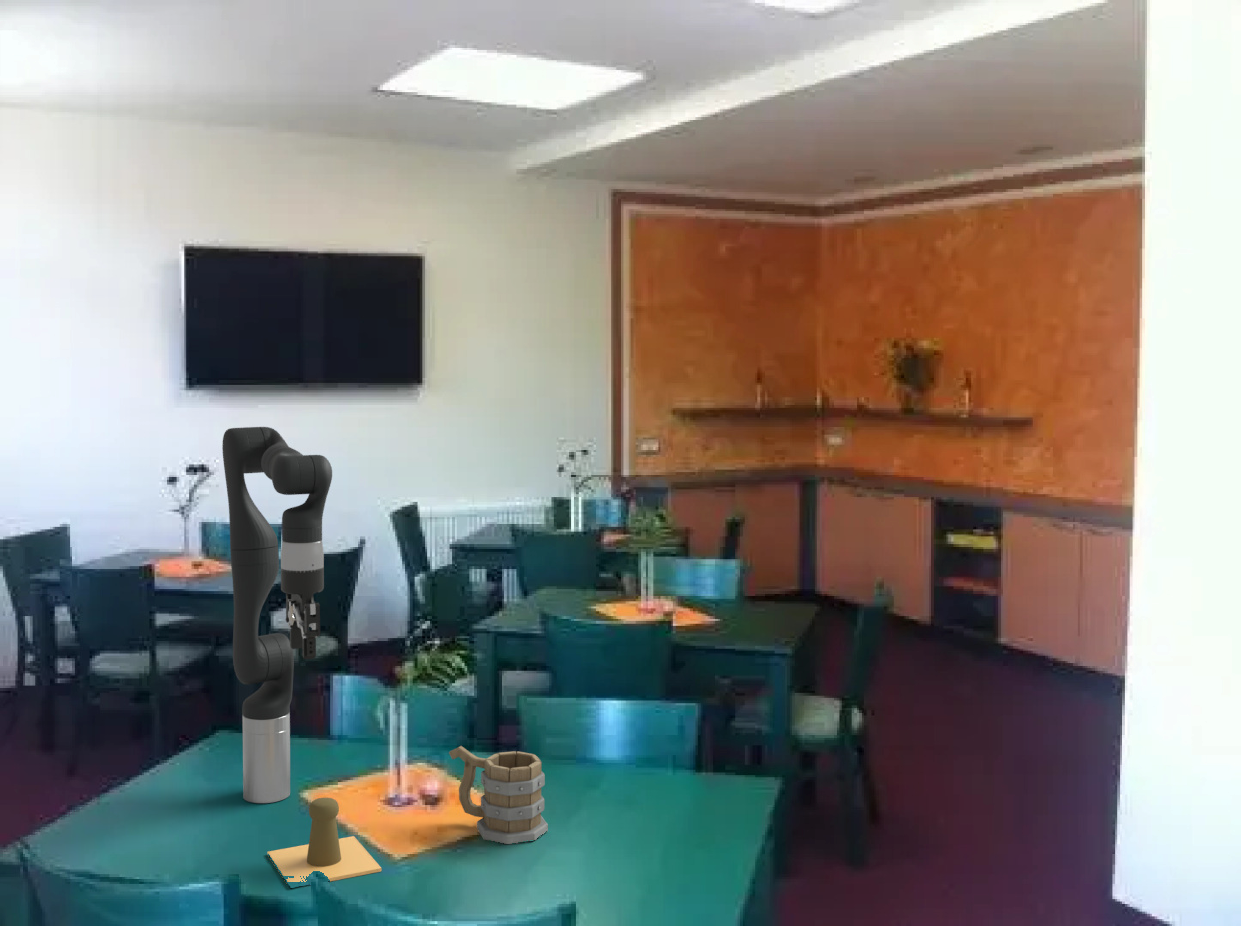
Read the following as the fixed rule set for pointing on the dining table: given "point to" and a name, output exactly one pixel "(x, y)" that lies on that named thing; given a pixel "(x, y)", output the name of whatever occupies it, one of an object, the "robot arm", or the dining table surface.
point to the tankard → (505, 795)
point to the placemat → (350, 865)
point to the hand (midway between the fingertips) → (302, 653)
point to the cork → (323, 833)
